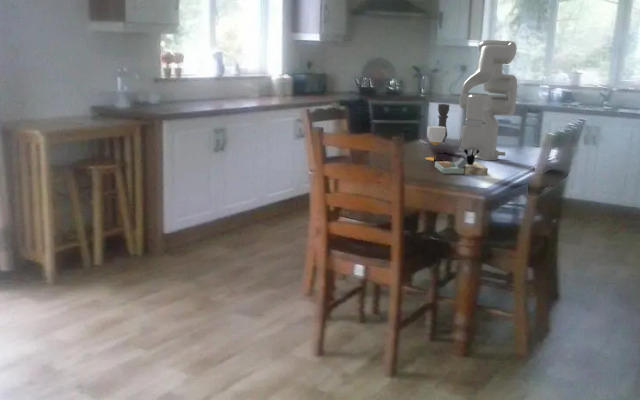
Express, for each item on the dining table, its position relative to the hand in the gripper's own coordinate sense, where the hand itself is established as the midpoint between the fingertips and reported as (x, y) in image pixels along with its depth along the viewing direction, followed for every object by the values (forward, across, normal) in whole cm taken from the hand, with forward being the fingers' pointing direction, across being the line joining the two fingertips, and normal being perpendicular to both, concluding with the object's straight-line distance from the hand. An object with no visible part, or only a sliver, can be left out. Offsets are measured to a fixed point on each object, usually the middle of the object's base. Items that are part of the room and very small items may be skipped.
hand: (470, 164), depth 300 cm
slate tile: (+1, +3, 0) cm, 3 cm away
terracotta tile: (+1, +9, -9) cm, 13 cm away
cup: (+4, +9, -33) cm, 34 cm away
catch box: (+4, +8, -5) cm, 10 cm away
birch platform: (+4, -2, -5) cm, 6 cm away
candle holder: (+4, 0, -56) cm, 56 cm away
